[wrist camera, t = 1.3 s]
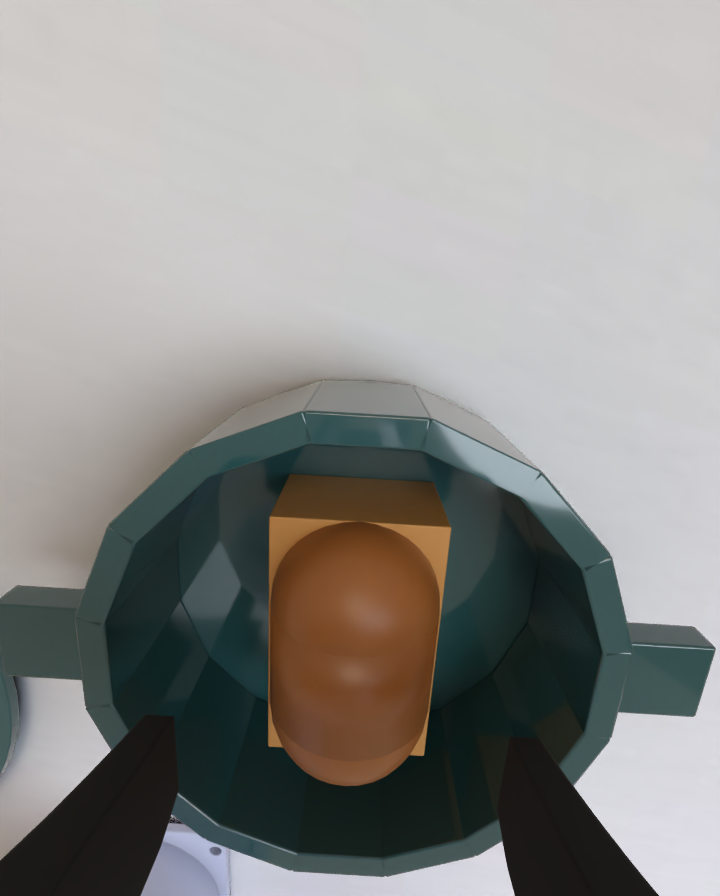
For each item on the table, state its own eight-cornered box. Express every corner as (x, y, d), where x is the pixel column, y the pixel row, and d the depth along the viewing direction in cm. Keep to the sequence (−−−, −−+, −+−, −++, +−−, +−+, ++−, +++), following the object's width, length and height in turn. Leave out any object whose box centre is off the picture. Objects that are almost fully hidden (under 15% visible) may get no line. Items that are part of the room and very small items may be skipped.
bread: (414, 674, 19) (433, 836, 13) (286, 666, 19) (249, 824, 13) (434, 482, 17) (469, 574, 11) (289, 473, 17) (247, 561, 11)
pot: (585, 742, 20) (661, 895, 15) (108, 713, 20) (16, 855, 15) (666, 397, 16) (810, 440, 11) (70, 361, 16) (-75, 388, 11)
